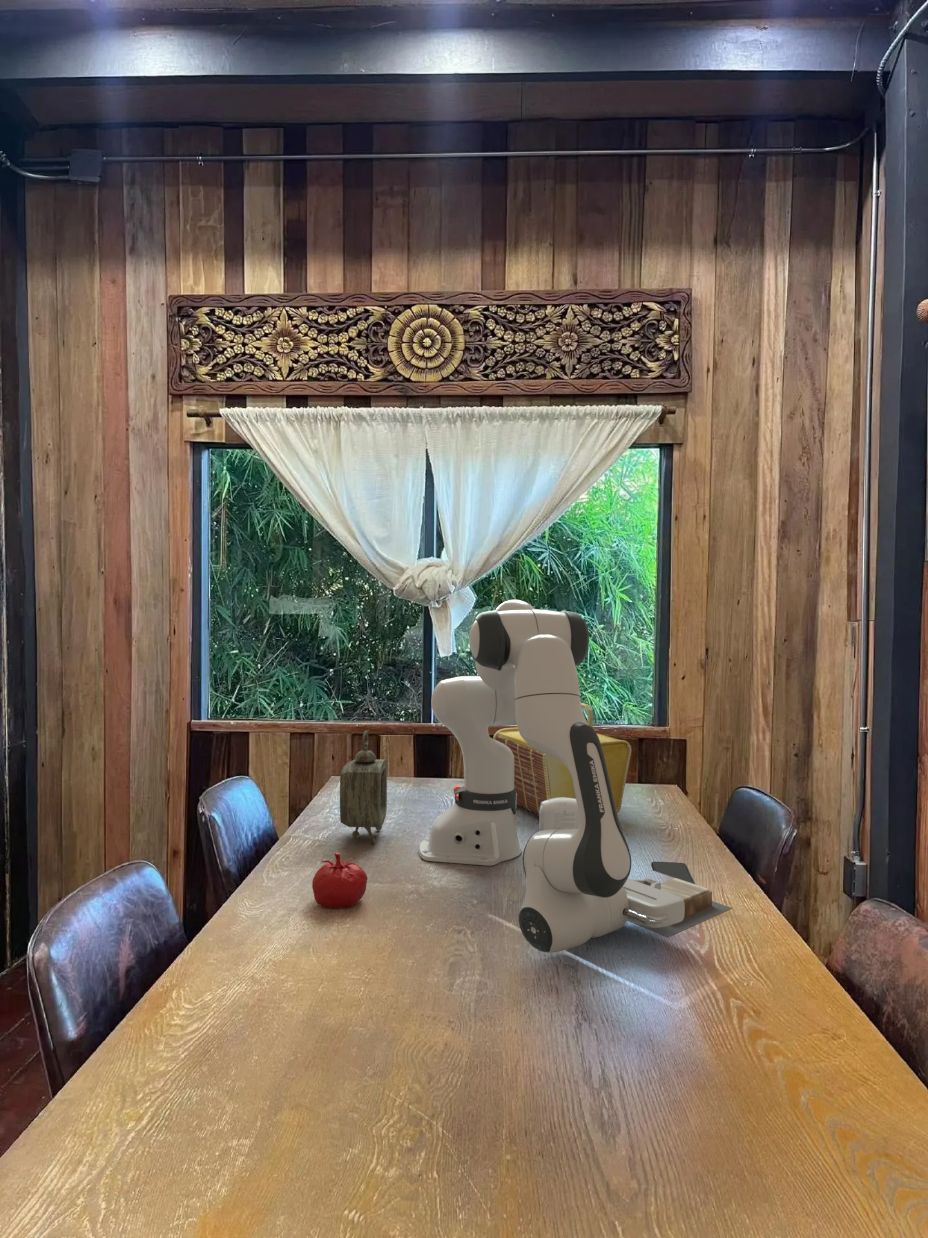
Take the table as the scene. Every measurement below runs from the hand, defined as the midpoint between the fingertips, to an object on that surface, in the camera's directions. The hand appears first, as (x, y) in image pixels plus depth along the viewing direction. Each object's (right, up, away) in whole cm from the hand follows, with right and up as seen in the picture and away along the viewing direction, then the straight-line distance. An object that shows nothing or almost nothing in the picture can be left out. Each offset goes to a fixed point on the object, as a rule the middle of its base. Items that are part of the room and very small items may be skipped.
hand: (654, 884), depth 138 cm
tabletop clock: (-57, -5, +45) cm, 73 cm away
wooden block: (0, -4, 0) cm, 4 cm away
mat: (+3, -6, +3) cm, 7 cm away
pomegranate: (-56, -6, +7) cm, 57 cm away
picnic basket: (-8, -4, +67) cm, 68 cm away
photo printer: (-12, -5, +34) cm, 37 cm away
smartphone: (+9, -6, +21) cm, 23 cm away
